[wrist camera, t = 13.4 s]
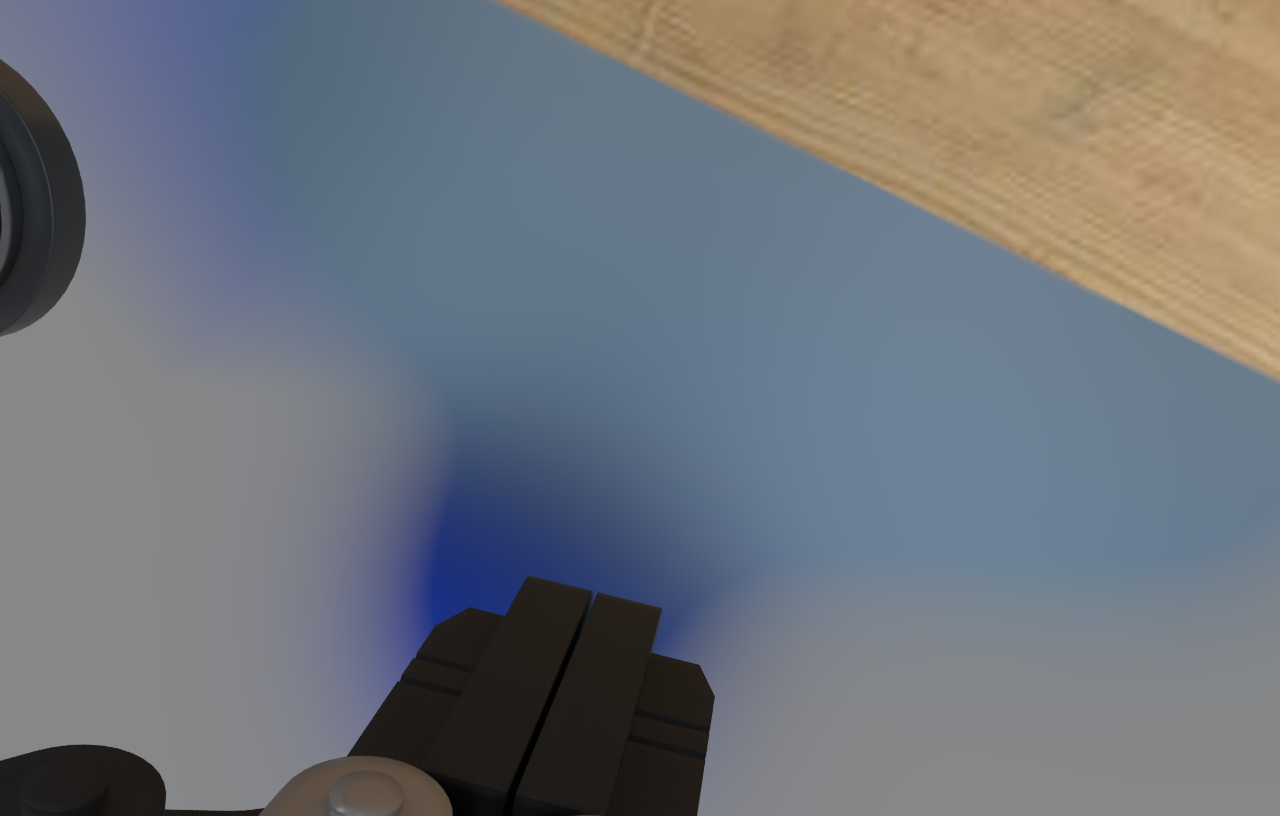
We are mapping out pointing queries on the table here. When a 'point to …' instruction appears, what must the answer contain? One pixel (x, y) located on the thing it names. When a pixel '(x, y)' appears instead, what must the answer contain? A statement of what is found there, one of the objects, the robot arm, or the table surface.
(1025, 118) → the table surface
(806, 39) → the table surface
